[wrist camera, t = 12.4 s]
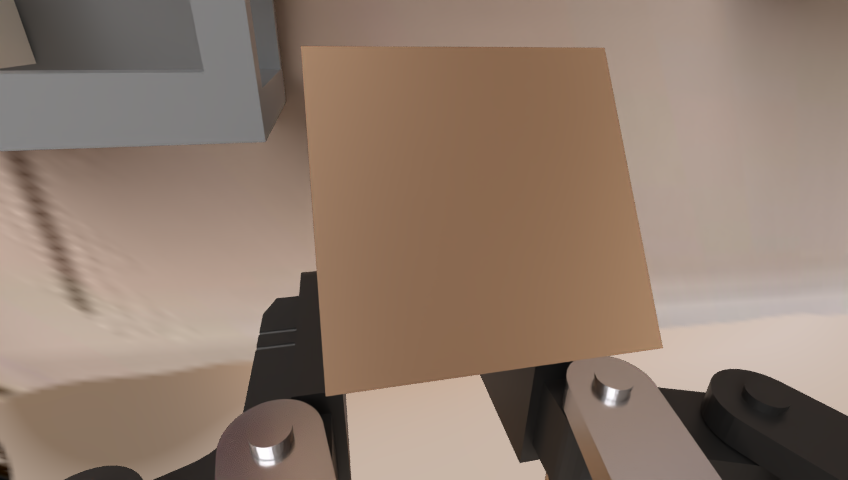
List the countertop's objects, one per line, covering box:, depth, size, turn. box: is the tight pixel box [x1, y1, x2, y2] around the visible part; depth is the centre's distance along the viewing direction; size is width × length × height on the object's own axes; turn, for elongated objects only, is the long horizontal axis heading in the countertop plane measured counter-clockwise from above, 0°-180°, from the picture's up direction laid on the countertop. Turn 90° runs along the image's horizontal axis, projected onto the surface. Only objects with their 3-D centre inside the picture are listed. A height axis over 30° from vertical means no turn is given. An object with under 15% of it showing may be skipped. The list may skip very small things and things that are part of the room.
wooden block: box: [301, 46, 663, 396], centre depth 11 cm, size 3×3×14 cm
